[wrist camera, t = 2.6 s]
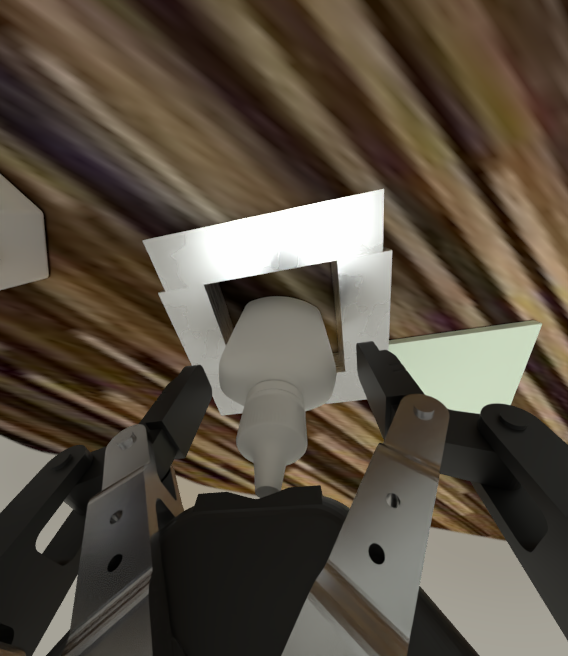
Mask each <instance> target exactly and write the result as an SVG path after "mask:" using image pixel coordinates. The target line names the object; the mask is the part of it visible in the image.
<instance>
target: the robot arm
mask: <svg viewBox="0 0 568 656" xmlns="http://www.w3.org/2000/svg"><path fill="white" fill-rule="evenodd" d="M356 356H357V372H358V377H359V380H360V383H361V385H362V388H363V390H364V393H365V395H366V398H367V400H368V402H369V405H370V407H371V410H372V412H373V414H374V417H375V419H376V422H377V424H378V427H379V429H380V431H381V434H382V436H383V439H384V442H383V444H382V443H379V444H378V446H377V447H376V449H375V452H374V454H373V456H372V459H371V461H370V463H369V466H368V468H367V470H366V473H365V475H364V477H363V480H362V482H361V484H360V487H359V489H358V491H357V493H356V496H355V498H354V500H353V503H352V505H351V507H350V508H348V507H347V506H345V505H344V504H342V503H340V502H338V501H336V500H334V499H331V498H328V497H324V496H322V490H321V485H319V486H305V487H291V488H287V489H284V490H281V491H279V492H276V493H273V494H270V495H268V496H265V497H262V498H260V499H252V498H247V497H244V496H240V495H237V494H233V493H229V492H221V493H220V492H219V493H207V494H206V493H205V494H198V497H197V500H196V503H195V506H193V507H191V508H189V509H187V510H185V511H184V509H183V506H182V502H181V498H180V493H179V489H178V485H177V481H176V476H175V472H174V468H173V466H172V465H171V464H172V462H173V460H174V459H179V458H186V455H187V453H188V451H189V448H190V446H191V444H192V442H193V439H194V437H195V435H196V432H197V430H198V428H199V426H200V423H201V421H202V419H203V417H204V414H205V412H206V410H207V407H208V405H209V403H210V401H211V398H212V387H211V385H210V382H209V380H208V378H207V375H206V373H205V371H204V369H203V367H202V366H201V365H193V366H186V367H184V368H183V370H182V371H181V373H180V374H179V375H178V377H176V378H175V379H174V380H173V381H171V382H170V383H169V384H168V385H167V386H166V388H165V389H164V390H163V392H162V394H160V396H159V397H158V399H157V401H155V403H154V404H153V405H152V407H151V408H150V409H149V411H148V412H147V413H146V415H145V416H144V418H143V419H142V420H141V422H140V423H139V424H138V425H133V426H130V427H128V428H126V429H124V430H123V431H121V432H120V433H119V434H117V435H116V436H115V437H114V438H113V439H112V440H111V441H110V443H109V444H108V446H107V447H104V448H101V449H99V450H96V451H93V452H89V451H88V450H87V448H86V447H85V446H83V445H77V446H73V447H70V448H68V449H66V450H64V451H63V452H61V453H59V454H58V455H57V456H55V457H54V458H53V459H51V460H50V461H49V462H48V463H47V464H46V465H45V466H44V467H43V468H42V469H41V470H40V471H39V473H38V474H37V475H36V476H35V477H34V478H33V479H32V480H31V481H30V482H29V484H27V485H26V486H25V488H24V489H23V490H22V491H21V492H20V493H19V494H18V495H17V496H16V497H15V498H14V499H13V500H12V501H11V502H10V503H9V504H8V506H7V507H6V508H5V509H4V510H3V511H2V512H1V513H0V656H32V655H33V653H34V651H35V649H36V647H37V646H38V644H39V642H40V640H41V638H42V637H43V635H44V633H45V631H46V630H47V628H48V626H49V624H50V622H51V620H52V619H53V617H54V615H55V613H56V612H57V610H58V608H59V606H60V605H61V603H62V601H63V599H64V598H65V596H66V594H67V592H68V590H69V589H70V587H71V585H72V583H73V581H74V580H75V578H76V576H77V574H78V577H77V585H76V592H75V599H74V606H73V613H72V620H71V627H70V630H69V631H68V632H67V633H66V634H65V635H64V637H63V638H62V639H61V640H60V641H59V642H58V643H57V644H56V645H55V646H54V647H53V649H52V650H51V651H50V652H49V653H48V654H47V655H46V656H479V655H478V654H477V652H476V651H475V650H474V649H473V648H472V646H471V645H470V644H469V643H468V642H467V641H466V640H465V638H464V637H463V636H462V635H461V634H460V632H459V631H458V630H457V629H456V628H455V627H454V626H453V624H452V623H451V622H450V621H449V620H448V619H447V617H446V616H445V615H444V614H443V613H442V611H441V610H440V609H439V608H438V607H437V606H436V604H435V603H434V602H433V601H432V600H431V599H430V597H429V596H428V595H427V594H426V593H425V592H424V590H423V589H422V588H421V587H420V586H419V585H420V580H421V574H422V569H423V563H424V558H425V552H426V547H427V541H428V536H429V530H430V525H431V519H432V514H433V508H434V503H435V497H436V492H437V486H438V481H439V475H440V474H444V475H448V476H452V477H456V478H460V479H464V480H469V481H470V482H471V483H472V485H473V486H474V488H475V490H476V491H477V493H478V495H479V496H480V498H481V500H482V501H483V503H484V504H485V506H486V508H487V509H488V511H489V513H490V514H491V516H492V518H493V519H494V521H495V522H496V524H497V526H498V527H499V529H500V531H501V532H502V534H503V536H504V537H505V539H506V540H507V542H508V544H509V545H510V547H511V549H512V550H513V552H514V554H515V555H516V557H517V558H518V560H519V562H520V563H521V565H522V567H523V568H524V570H525V571H526V573H527V575H528V576H529V578H530V580H531V581H532V583H533V585H534V586H535V588H536V589H537V591H538V593H539V594H540V596H541V598H542V599H543V601H544V603H545V604H546V605H547V607H548V609H549V611H550V612H551V614H552V616H553V617H554V619H555V620H556V622H557V624H558V625H559V627H560V629H561V630H562V632H563V634H564V635H565V637H566V638H567V640H568V445H567V444H566V443H565V442H564V441H563V440H562V439H561V438H559V437H558V436H557V435H556V434H555V433H554V432H553V431H552V430H550V429H549V428H548V427H547V426H546V425H545V424H544V423H543V422H541V421H540V420H539V419H538V418H537V417H535V416H534V415H532V414H530V413H529V412H527V411H525V410H522V409H520V408H517V407H515V406H511V405H507V404H500V403H494V404H488V405H486V406H484V407H483V408H482V410H481V412H480V414H476V413H469V412H462V411H455V410H450V409H447V408H446V407H445V405H444V404H443V403H441V402H440V401H439V400H437V399H435V398H433V397H431V396H428V395H425V394H424V393H423V391H422V390H421V389H420V387H419V386H418V385H417V383H416V382H415V381H414V379H413V378H412V377H411V375H410V374H409V372H408V371H406V368H405V367H404V366H403V364H401V362H400V360H399V359H398V358H397V356H396V355H394V354H393V353H391V352H389V351H388V350H379V349H378V348H377V346H376V345H375V343H374V342H373V341H368V342H361V343H357V344H356ZM63 501H64V502H65V503H66V504H68V505H69V506H70V507H71V508H73V511H72V512H71V513H70V515H69V516H68V518H67V519H66V521H65V522H64V523H63V525H62V526H61V528H60V529H59V531H58V532H57V533H56V535H55V536H54V538H53V539H52V541H51V542H50V543H49V545H48V546H47V548H46V549H45V551H44V552H43V553H42V554H41V553H39V552H38V551H37V550H36V547H35V544H36V540H37V537H38V535H39V533H40V532H41V530H42V529H43V528H44V526H45V525H46V524H47V522H48V521H49V520H50V518H51V517H52V516H53V514H54V513H55V512H56V510H57V509H58V508H59V506H60V505H61V504H62V503H63Z"/></svg>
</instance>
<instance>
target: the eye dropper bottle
mask: <svg viewBox="0 0 568 656" xmlns="http://www.w3.org/2000/svg"><path fill="white" fill-rule="evenodd" d="M336 376H337V373H336V365H335V361H334V357H333V353H332V350H331V346H330V343H329V340H328V336H327V333H326V329H325V326H324V323H323V319H322V316H321V313H320V311H319V310H318V309H317V308H316V307H315V306H313V305H311V304H309V303H307V302H305V301H302V300H299V299H296V298H291V297H284V296H271V297H264V298H259V299H256V300H253V301H250V302H249V303H248V304H247V305H246V306H245V308H244V310H243V312H242V314H241V316H240V318H239V320H238V322H237V324H236V326H235V328H234V330H233V332H232V334H231V336H230V338H229V341H228V343H227V345H226V347H225V349H224V352H223V354H222V356H221V359H220V362H219V382H220V387H221V390H222V391H223V393H224V394H225V395H226V396H227V397H229V398H230V399H232V400H233V401H235V402H237V403H239V404H240V405H242V406H244V409H243V413H242V417H241V421H240V426H239V430H238V434H237V438H236V443H237V444H236V445H237V447H238V450H239V451H240V453H241V454H242V455H243V456H244V457H245V458H246V459H248V460H249V461H251V462H253V463H254V471H255V493H256V495H257V496H258V497H260V498H262V497H265V496H268V495H270V494H273V493H276V492H279V491H281V486H282V481H283V477H284V472H285V467H286V465H289V464H292V463H294V462H296V461H297V460H298V459H300V458H301V457H302V456H303V454H304V453H305V452H306V449H307V432H306V418H305V411H308V410H311V409H314V408H317V407H319V406H321V405H323V404H325V403H326V402H328V400H329V399H330V398H331V396H332V393H333V390H334V386H335V382H336Z"/></svg>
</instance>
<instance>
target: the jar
mask: <svg viewBox="0 0 568 656" xmlns="http://www.w3.org/2000/svg"><path fill="white" fill-rule="evenodd" d="M48 277H49V269H48V258H47V247H46V236H45V225H44V215H43V212H42V211H41V210H40V209H39V208H38V207H37V206H36V205H35V204H33V203H32V202H31V201H30V200H29V199H28V198H27V197H26V196H25V195H23V194H22V193H21V192H20V191H19V190H18V189H17V188H16V187H15V186H14V185H12V184H11V183H10V182H9V181H8V180H7V179H6V178H5V177H4V176H3V175H1V174H0V290H3V289H7V288H11V287H15V286H19V285H23V284H27V283H30V282H34V281H38V280H42V279H46V278H48Z"/></svg>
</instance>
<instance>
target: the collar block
mask: <svg viewBox="0 0 568 656" xmlns="http://www.w3.org/2000/svg"><path fill="white" fill-rule="evenodd" d="M383 216H384V189H381V190H376V191H371V192H367V193H362V194H357V195H353V196H348V197H343V198H339V199H334V200H329V201H325V202H320V203H315V204H311V205H306V206H301V207H296V208H292V209H287V210H282V211H278V212H273V213H268V214H264V215H259V216H254V217H250V218H245V219H240V220H236V221H231V222H226V223H222V224H217V225H212V226H208V227H203V228H198V229H194V230H189V231H184V232H180V233H175V234H170V235H165V236H161V237H156V238H151V239H147V240H142V241H143V243H144V245H145V247H146V249H147V252H148V254H149V256H150V258H151V261H152V263H153V265H154V267H155V269H156V272H157V274H158V276H159V278H160V281H161V283H162V285H163V287H164V290H162V291H161V292H159V293H158V294H159V296H160V298H161V300H162V302H163V305H164V307H165V309H166V311H167V313H168V315H169V317H170V320H171V322H172V324H173V326H174V328H175V330H176V332H177V335H178V337H179V339H180V341H181V343H182V345H183V347H184V350H185V352H186V354H187V356H188V358H189V360H190V362H191V364H192V366H193V365H201V366H202V367H203V369H204V371H205V373H206V375H207V378H208V380H209V382H210V385H211V387H212V396H213V398H214V400H215V403H216V405H217V407H218V409H219V412H220V414H221V416H222V415H230V414H239V413H243V409H244V406H242V405H240V404H239V403H237V402H235V401H233V400H232V399H230V398H229V397H227V396H226V395H225V394H224V393H223V391H222V390H221V387H220V382H219V362H220V359H221V356H222V354H223V352H224V349H225V347H226V345H227V343H228V341H229V338H230V336H231V334H232V332H233V330H234V327H233V324H232V321H231V318H230V315H229V312H228V309H227V306H226V303H225V300H224V297H223V294H222V291H221V288H220V285H219V282H221V281H227V280H232V279H238V278H243V277H248V276H254V275H259V274H265V273H270V272H276V271H281V270H287V269H292V268H298V267H303V266H309V265H314V264H319V263H325V262H330V261H331V270H332V281H333V293H334V304H335V316H336V327H337V339H338V350H339V352H338V353H333V357H334V361H335V365H336V373H337V376H336V382H335V386H334V390H333V393H332V396H331V398H330V399H329V400H328V402H326V403H325V404H329V403H338V402H347V401H356V400H364V399H367V398H366V395H365V393H364V390H363V388H362V385H361V383H360V380H359V377H358V372H357V356H356V344H357V343H361V342H368V341H373V342H374V343H375V345H376V346H377V348H378V349H379V350H388V351H389V324H390V297H391V270H392V250H390V249H387V248H385V247H383Z"/></svg>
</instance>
